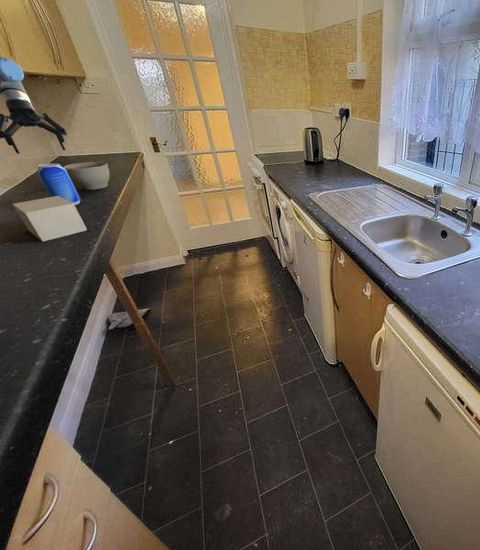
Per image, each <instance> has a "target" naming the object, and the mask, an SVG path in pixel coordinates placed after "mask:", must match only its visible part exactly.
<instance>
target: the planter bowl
mask: <svg viewBox="0 0 480 550" xmlns="http://www.w3.org/2000/svg"><path fill="white" fill-rule="evenodd" d="M63 168H64V169H65V170H66V171H67V173H68V175H69V177H70V179H71V180H72V181H73V182H75V183H76V184H77V185H79V186H80V187H82V189H84V190H87V191H88V190H91V191H92V190H100V189H105V188H107V187H108V186H109V184H108V183H109V180H110V170H109V165H108V163H107V162H105V161H85V162H76V163H70V164H67V165H64V166H63Z"/></svg>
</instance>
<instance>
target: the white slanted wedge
mask: <svg viewBox="0 0 480 550" xmlns="http://www.w3.org/2000/svg"><path fill="white" fill-rule="evenodd" d="M12 206H13V208H14V209H15V211H16V213H17V214H18V216H19V217H20V219H21V221H22V222H23V224H24V226H25V227H26V229H27V230H28V232H30V233H31V234H32V235H34V236H35V237H36V238H37V239H39V240H40V241H41V242H47V241H51V240H54V239H59V238H62V237H67V236H71V235H75V234H78V233H83V232H86V231H87V230H88V228H87V227H86V225H85V223H84V221H83V219H82V217H81V215H80V213H79V211H78V209H77V208H76V205H74V204H73V203H71V202H70V201H68V200H66V199H64V198H62V197H60V196H54V197H51V196H49V197H44V198H38V199H32V200H27V201H21V202H15V203H12Z"/></svg>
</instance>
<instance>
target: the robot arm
mask: <svg viewBox="0 0 480 550" xmlns="http://www.w3.org/2000/svg"><path fill="white" fill-rule="evenodd" d="M24 78H25V73H24V71H23V68H22V67H21V66H20V65H19V64H18V63H17V62H16V61H14V60H13V59H11V58H9V57H3V56H0V96H1V98H2V100H3V102H4V104H5V106H6V108H7V110H8V112H9V115H4V114H3V113H0V139H4V141H5V142H6V144H7V145H8V146H12V147H13V150H14V151H15V153H16V154H17V155H20V153H21V152H20V150H19V149H18V147H17V144H16V142H15V141H14V138H13V136H14V135H15V134H16V133H17V132H18V130H20V129H22V128H23V127H25V128H27V127H38V128H41V129H43V130H46V131H47V132H50V133H52V134H53V135H55V136H56V138H57V141H58V143H59V145H60V146H61V149H62V151H66V148H65V145H64V143H66V140H65V138H64V136H67V135H68V133H67V131H66V129H65V128H64V127H62V126H61V125H60V124H58V123H57V122H56V121H55V120H53V119H52V118H50V116H49V115H48V114H47V113H46V112H43V113H42V114H38V113H37V112H36V110H35V108H34V106H33V105H32V102H31V100H30V98H29V96H28V94H27V91H26V89H25V88H24V84H23V83H22V81H23V80H24ZM42 120H43V121H42ZM10 121H11V123H10V125H8V123H9V122H10ZM46 122H47V123H46Z"/></svg>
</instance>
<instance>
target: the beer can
mask: <svg viewBox="0 0 480 550" xmlns="http://www.w3.org/2000/svg"><path fill="white" fill-rule="evenodd" d="M36 173H37V175H38V177H39V178H40V180H41V183H42V184H43V186H44V188H45V189H46V191H47V193H48V194H49V197H54V196H60V197H62V198H64V199H66V200H68V201H70V202H71V203H73V204H74V205H75V206H77V205H80V202H81V197H80V195H79V193H78V191H77V190H76V187H75V185H74V183H73V182H72V181H73V180H72V178H71V177H70V176H69V175H68V173H67V171H66V170H65V169H64V166H62V165H61V164H60V163H50V164H46V163H44V164H43V163H42V164H39V165H37V172H36Z"/></svg>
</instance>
